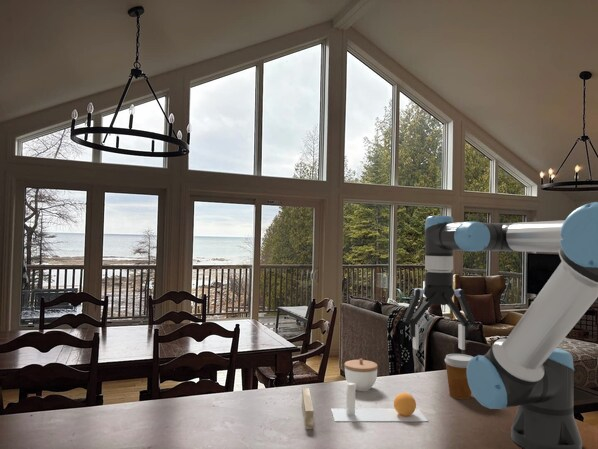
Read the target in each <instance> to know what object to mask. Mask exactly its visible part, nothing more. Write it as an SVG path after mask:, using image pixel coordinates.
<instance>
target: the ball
mask: <svg viewBox="0 0 598 449" xmlns="http://www.w3.org/2000/svg"><path fill="white" fill-rule="evenodd" d="M393 406H394V408H395V410H396V411H397V412H398V413H399V414H400V415H403V416H409V415H411V414H412V413H413V412H414V411H415V409H417V402H416V399H415V398H414V397H413V395H411V394H410V393H408V392H401V393H399V394H397V395H396V396H395V398H394V400H393Z"/></svg>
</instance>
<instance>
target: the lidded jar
mask: <svg viewBox="0 0 598 449" xmlns="http://www.w3.org/2000/svg"><path fill="white" fill-rule="evenodd" d="M378 368H379V367H378V364H377V362H374V361H372V360H366V359H363V358H359V359H352V360H351V359H350V360H347V361H345V362H344V375H345V381H346V382H347V383H355V384H356V385H355V391H357V392H358V391H360V392H366V391H369V390H371V388H372V387H373V386H374V385H375V383H376V381H377V377H378Z"/></svg>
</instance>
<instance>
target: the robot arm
mask: <svg viewBox="0 0 598 449" xmlns="http://www.w3.org/2000/svg"><path fill="white" fill-rule="evenodd" d="M454 251H456V252H457V251H460V252H462V251H463V252H468V253H470V252H472V253H473V252H509V253H510V252H511V253H512V252H527V253H529V252H530V253H533V252H534V253H535V252H536V253H558V256H559V258H560V260H561V261H560V263H559V265H558V266H557V267H556V269H555V270H554V272H553V273H552V274H551V276H550V277H549V279H547V282H545V284H544V285H543V287H542V289H541V290H540V291H539V292H538V294H537V295H536V297H535V298H534V300H533V301H532V303H531V304H530V305H529V307H528V308H527V309H526V311H525V312H524V314H523V315H522V317H521V318H520V319H519V321H518V322H517V323H516V325H515V326H514V328H512V330H511V332H510V333H509V334H508V336H506V337H507V338H499V339H497V340H495V341H494V343H493V344H492V345H491V347H490V348H489V349H488V351H487V352H486V353H485V354H484V355H480V354H477V355H476V356H472V357H473V358H472V359H471V360H470V361H469V363H468V365H467V379H468V385H469V387H470V390H471V395H472V396H473V397H474V398H475V400H476V401H477V402H478V403H479V404H480V405H482V407H484V408H487V409H490V410H496V409H497V410H498V409H499V410H503V409H506V408H514V407H517V410H516V413H515V417H514V418H513V422H512V423H511V424H512V425H511V428H510V437H511V439H512V441H513V442H514V443H515V444H516V445H518V446H519V447H521V448H524V449H583V440H582V436H581V434H580V430H579V428H578V425H577V422H576V420H575V419H576V418H575V416H574V378H575V377H574V372H575V368H574V357H573V355H572V354H571V353H570V352H568V351H567V350H565V349H561V348H558V347H559V345H560V344H561V343H562V342H563V340H564V339H565V338H566V337H567V335H568V334H570V332H571V331H572V329H573V328H574V327H575V326H576V325H577V323H578V322H579V321H580V320H581V318H582V317H583V316H584V315H585V313H586V312H587V311H588V310H589V308H590V307H591V306H592V305H593V304H594V302H595V301H596V300H598V202H597V201H596V202H590V203H586V204H584V205H581V206H580V207H577V208H575V209H574V210H573V211H572V212H571V213H569V215H568V216H567V217H566V218H565V220H564V219H563V220H562V219H561V220H546V221H545V220H544V221H543V220H541V221H527V222H524V221H523V222H499V223H498V222H493V223H492V222H480V221H472V220H471V221H469V220H468V221H459V222H454V218H453V216H452V215H451V216H450V215H430V216H427V217H426V219H425V225H424V258H425V259H424V269H425V270H426V271H425V272H424V288H423V289H421V288H420V289H419V288H414V289H413V291H412V298H411V300H410V301H409V304H408V306H407V309H406V311H405V312H404V316H403V318H402V322H404V323H406V324H408V325H409V336H410V337H411V338H412V348H413V350H415V351H419V350H420V348H419V343H420V342H419V340H420V338H419V334H420V333H419V329H420V328H419V327H420V326H419V325H417V323H419V321H420V320H421V318H423V315H424V314H425V313H426V312H427V311H428V309H429V308H430V307H432V305H433V306H439V305H441V306H446V305H447V307H449V309H450V310H451V312H452V313H453V314H454V315H455V317H456V319H457V320H458V321H459V322H460V323H461V324H459V323H458V325H457V326H458V327H457V328H458V330H457V331H458V332H457V334H458V335H457V338H458V341H457V342H458V343H457V344H458V349H460V350H462V351H464V350H466V338H468V336H469V326H471V324H475V322H476V321H475V318H474V315H473V313H472V311H471V309H470V306H469V304H468V302H467V299H466V294H465V293H466V292H465V290H464V289H461V288H458V289H454V287H453V286H454V274H453V270H454V253H453V252H454ZM423 295H424V296H425V298H424V300H423V302H422V303H421V305H420V306H419V308H418V309H417V310H416V308H417V306H418V304H419V301H420V299H421V298H422V296H423ZM454 296H455V297H456V298H457V301H458V302H459V305H460V306H461V309H462V311H463V313H464V314H463V313H462V312H461V311H460V309H459V308H458V306H457V305H456V303H455V302H454V301H453V299H452V298H453V297H454ZM415 311H416V312H415ZM414 312H415V313H414Z"/></svg>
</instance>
